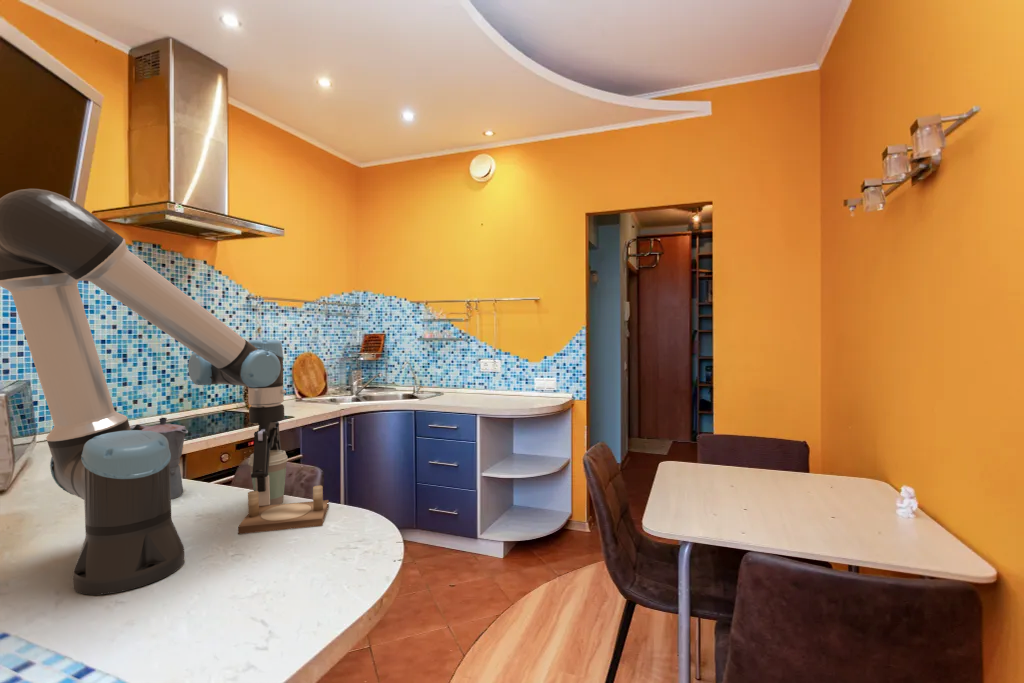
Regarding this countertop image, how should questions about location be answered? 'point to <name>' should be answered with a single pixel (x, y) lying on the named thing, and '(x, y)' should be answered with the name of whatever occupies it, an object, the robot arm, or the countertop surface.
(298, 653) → the countertop surface
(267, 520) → the rest board
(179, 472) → the moka pot
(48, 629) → the countertop surface
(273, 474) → the coffee cup
